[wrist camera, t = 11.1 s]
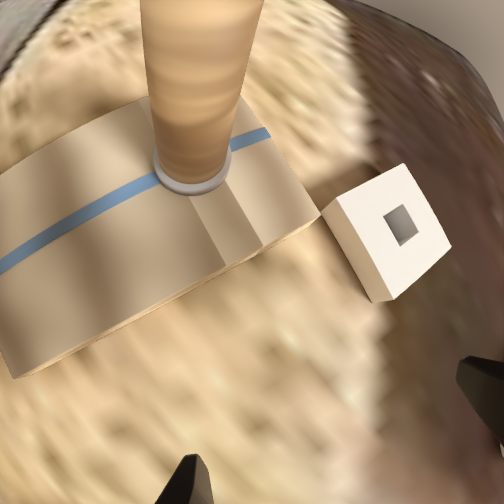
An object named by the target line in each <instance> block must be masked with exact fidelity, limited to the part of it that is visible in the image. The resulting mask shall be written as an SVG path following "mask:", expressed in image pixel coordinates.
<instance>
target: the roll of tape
mask: <svg viewBox="0 0 504 504" xmlns="http://www.w3.org/2000/svg"><path fill="white" fill-rule="evenodd" d="M500 447H501V453H502V456H503V457H504V447H503V446H502V445H501V444H500Z"/></svg>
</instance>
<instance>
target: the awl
mask: <svg viewBox="0 0 504 504" xmlns="http://www.w3.org/2000/svg"><path fill="white" fill-rule="evenodd" d="M263 2H264V0H140V11H141V25H142V37H143V48H144V58H145V67H146V76H147V84H148V92H149V100H150V107H151V114H152V121H153V127H154V134H155V140H156V147H155V149H154V154H153V162H154V167H155V171H156V175H157V177H158V179H159V181H160V182H161V183H162V184H163V185H164V186H165V187H166V188H167V189H169V190H170V191H172V192H174V193H176V194H179V195H184V196H199V195H203V194H206V193H209V192H211V191H213V190H214V189H216V188H217V187H218V186H219V185H221V184H222V182H223V181H224V180H225V178H226V177H227V174H228V172H229V168H230V164H231V158H232V154H231V148H230V145H229V141H230V137H231V132H232V128H233V123H234V119H235V114H236V110H237V105H238V101H239V97H240V92H241V88H242V84H243V80H244V76H245V71H246V67H247V63H248V59H249V55H250V51H251V47H252V43H253V40H254V36H255V32H256V28H257V24H258V21H259V17H260V13H261V10H262V6H263Z"/></svg>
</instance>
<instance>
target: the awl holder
mask: <svg viewBox="0 0 504 504" xmlns="http://www.w3.org/2000/svg"><path fill="white" fill-rule="evenodd" d="M320 213H321V215H322V216H323V218H324V220H325V221H326V223H327V225H328V226H329V228H330V230H331V231H332V233H333V235H334V236H335V238H336V240H337V241H338V243H339V245H340V247H341V248H342V250H343V252H344V253H345V255H346V257H347V259H348V260H349V262H350V264H351V266H352V268H353V269H354V271H355V273H356V275H357V276H358V278H359V280H360V282H361V284H362V286H363V287H364V289H365V291H366V293H367V295H368V297H369V299H370V300H371V302H372V303H377V302H383V301H388V300H394V299H395V298H396V297H397V296H398V295H400V294H401V293H402V292H403V291H404V290H405V289H407V288H408V287H409V286H410V285H411V284H412V283H414V282H415V281H416V280H417V279H418V278H419V277H420V276H421V275H422V274H424V273H425V272H426V271H427V270H428V269H429V268H430V267H431V266H432V265H433V264H434V263H435V262H437V261H438V260H439V259H440V258H441V257H442V256H443V255H444V254H445V253H446V252H447V251H448V250H449V249H450V248H451V245H450V243H449V241H448V239H447V237H446V235H445V233H444V231H443V229H442V227H441V225H440V224H439V222H438V220H437V218H436V216H435V214H434V213H433V211H432V209H431V207H430V205H429V204H428V202H427V200H426V198H425V197H424V195H423V193H422V192H421V190H420V188H419V187H418V185H417V183H416V182H415V180H414V179H413V177H412V175H411V174H410V172H409V171H408V169H407V167H406V166H405V164H404V163H403V164H401V165H399V166H397V167H395V168H393V169H391V170H389V171H387V172H385V173H383V174H381V175H379V176H377V177H375V178H373V179H371V180H369V181H367V182H365V183H363V184H361V185H359V186H357V187H356V188H354V189H352V190H350V191H348V192H346V193H344V194H342V195H340V196H338V197H336V198H335V199H334V200H333V201H332V202H330V203H329V204H328V205H327V206H326V207H325V208H324V209H323V210H322V211H321V212H320ZM383 216H384V218H385V219H386V221H387V223H388V224H387V223H386V221H385V219H384V218H383ZM388 225H389V226H390V228H391V230H392V231H391V230H390V228H389V226H388ZM392 232H393V233H394V235H395V237H396V238H395V237H394V235H393V233H392ZM396 239H397V240H398V242H397V240H396Z"/></svg>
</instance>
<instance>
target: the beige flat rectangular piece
mask: <svg viewBox="0 0 504 504" xmlns="http://www.w3.org/2000/svg"><path fill="white" fill-rule="evenodd" d="M229 145H230V148H231V154H232V158H231V164H230V168H229V172H228V174H227V177H226V178H225V180H224V181H223V182H222V184H221V185H219V186H218V187H217V188H216V189H214V190H213V191H211V192H209V193H206V194H203V195H199V196H184V195H179V194H176V193H174V192H172V191H170V190H169V189H167V188H166V187H165V186H164V185H163V184H162V183H161V182H160V181H159V179H158V177H157V175H156V171H155V167H154V162H153V154H154V149H155V147H156V140H155V134H154V127H153V121H152V114H151V107H150V100H149V96H147V97H144V98H142V99H139V100H137V101H134V102H132V103H130V104H127V105H125V106H123V107H120V108H118V109H116V110H114V111H111V112H109V113H107V114H105V115H103V116H101V117H98V118H96V119H94V120H92V121H90V122H88V123H86V124H84V125H82V126H80V127H78V128H76V129H75V130H73V131H71V132H69V133H67V134H65V135H63V136H62V137H60V138H58V139H56V140H54V141H53V142H51V143H49V144H48V145H46V146H44V147H42V148H41V149H39V150H37V151H36V152H34V153H33V154H31V155H29V156H28V157H26V158H25V159H23V160H22V161H20V162H19V163H17V164H16V165H14V166H13V167H11V168H10V169H8V170H7V171H5V172H4V173H2V174H1V175H0V349H1V352H2V354H3V357H4V359H5V362H6V364H7V366H8V369H9V371H10V373H11V375H12V378H13V379H17V378H21V377H25V376H29V375H32V374H35V373H36V372H38V371H40V370H42V369H44V368H46V367H48V366H50V365H52V364H54V363H55V362H57V361H59V360H61V359H63V358H65V357H67V356H69V355H71V354H72V353H74V352H76V351H78V350H80V349H82V348H84V347H86V346H88V345H90V344H91V343H93V342H95V341H97V340H99V339H101V338H103V337H105V336H106V335H108V334H110V333H112V332H114V331H116V330H118V329H120V328H122V327H123V326H125V325H127V324H129V323H131V322H133V321H135V320H137V319H138V318H140V317H142V316H144V315H146V314H148V313H150V312H152V311H153V310H155V309H157V308H159V307H161V306H163V305H165V304H166V303H168V302H170V301H172V300H174V299H176V298H178V297H180V296H181V295H183V294H185V293H187V292H189V291H191V290H193V289H194V288H196V287H198V286H200V285H202V284H204V283H206V282H208V281H209V280H211V279H213V278H215V277H217V276H219V275H221V274H222V273H224V272H226V271H228V270H230V269H232V268H234V267H235V266H237V265H239V264H241V263H243V262H245V261H247V260H248V259H250V258H252V257H254V256H256V255H258V254H259V253H261V252H263V251H265V250H267V249H269V248H271V247H272V246H274V245H276V244H278V243H280V242H282V241H284V240H285V239H287V238H289V237H291V236H293V235H295V234H296V233H298V232H300V231H302V230H304V229H306V228H307V227H308V226H309V225H310V224H312V223H313V222H314V221H315V220H316V219H317V218H318V217H319V216H321V214H320V212H319V210H318V209H317V207H316V206H315V204H314V202H313V201H312V199H311V198H310V196H309V194H308V193H307V191H306V190H305V188H304V187H303V185H302V184H301V182H300V180H299V179H298V177H297V176H296V174H295V173H294V171H293V170H292V168H291V167H290V165H289V164H288V162H287V161H286V159H285V158H284V156H283V155H282V153H281V152H280V150H279V149H278V147H277V146H276V144H275V143H274V141H273V140H272V139H271V136H270V134H269V133H268V131H267V130H266V129H265V127H263V126H262V124H261V123H260V122H259V120H258V119H257V117H256V116H255V115H254V113H253V112H252V110H251V109H250V108H249V106H248V105H247V104H246V102H245V101H244V100H243V98H242V97H241V95H240V97H239V101H238V105H237V110H236V114H235V119H234V123H233V128H232V132H231V137H230V141H229Z"/></svg>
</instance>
